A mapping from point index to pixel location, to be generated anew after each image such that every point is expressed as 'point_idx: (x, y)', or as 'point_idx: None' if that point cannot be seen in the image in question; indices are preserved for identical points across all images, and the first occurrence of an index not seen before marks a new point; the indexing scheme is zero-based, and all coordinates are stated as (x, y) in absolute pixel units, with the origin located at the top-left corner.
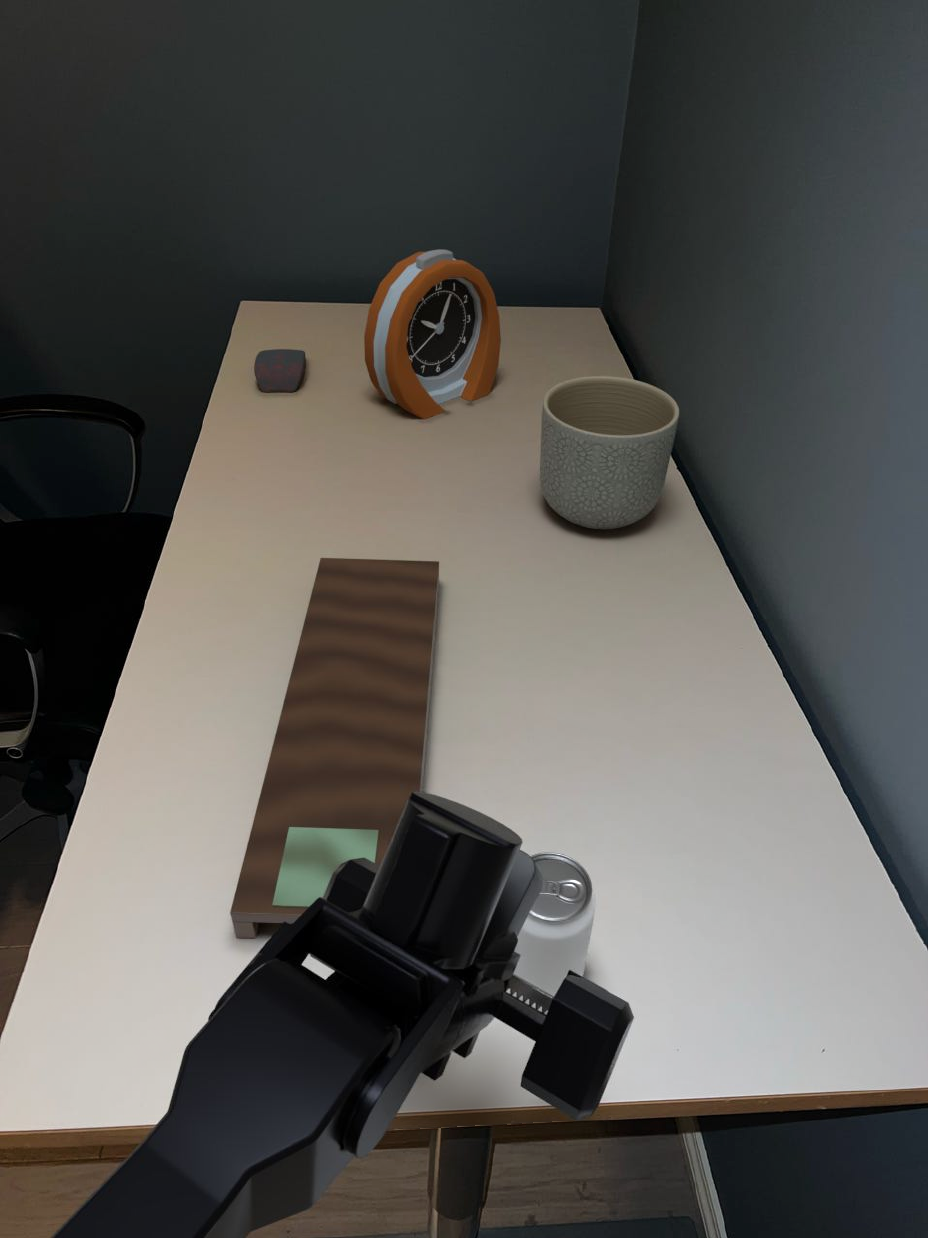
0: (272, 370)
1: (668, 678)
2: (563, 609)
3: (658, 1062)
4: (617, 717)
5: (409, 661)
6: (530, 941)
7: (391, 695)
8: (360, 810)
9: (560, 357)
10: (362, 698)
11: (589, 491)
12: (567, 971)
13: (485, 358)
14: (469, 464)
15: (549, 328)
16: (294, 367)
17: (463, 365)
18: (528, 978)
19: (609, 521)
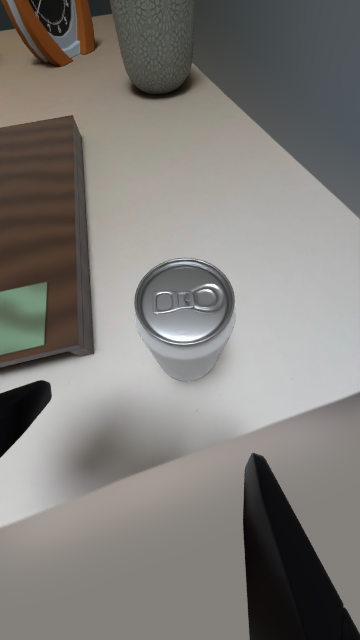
0: None
1: (219, 155)
2: (153, 134)
3: (282, 391)
4: (196, 181)
5: (60, 170)
6: (173, 362)
7: (50, 192)
8: (33, 271)
9: None
10: (30, 198)
11: (151, 49)
12: (212, 363)
13: (83, 17)
14: (89, 80)
15: None
16: None
17: (73, 27)
18: (179, 374)
19: (167, 79)
